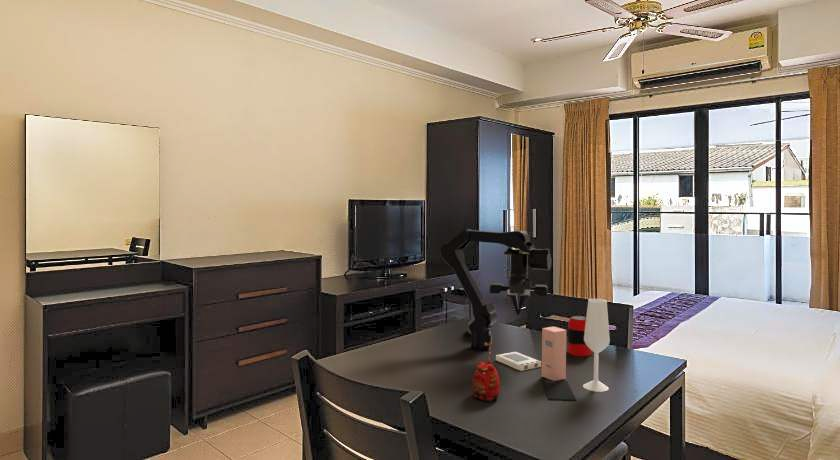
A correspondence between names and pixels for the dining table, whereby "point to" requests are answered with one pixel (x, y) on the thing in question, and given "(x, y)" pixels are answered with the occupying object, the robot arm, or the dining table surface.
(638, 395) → the dining table surface
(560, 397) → the smartphone
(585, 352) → the soda can
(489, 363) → the red clay folk toy
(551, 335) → the block
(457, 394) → the dining table surface
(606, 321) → the champagne flute
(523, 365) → the pad
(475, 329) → the robot arm
